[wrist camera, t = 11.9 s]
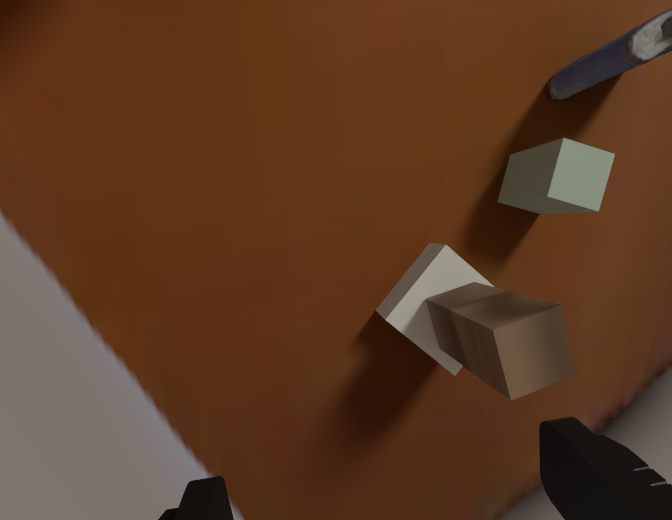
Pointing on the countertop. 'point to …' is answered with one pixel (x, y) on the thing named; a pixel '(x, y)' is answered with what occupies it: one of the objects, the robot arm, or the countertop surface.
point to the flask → (615, 57)
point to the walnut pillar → (503, 337)
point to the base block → (423, 282)
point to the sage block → (557, 178)
